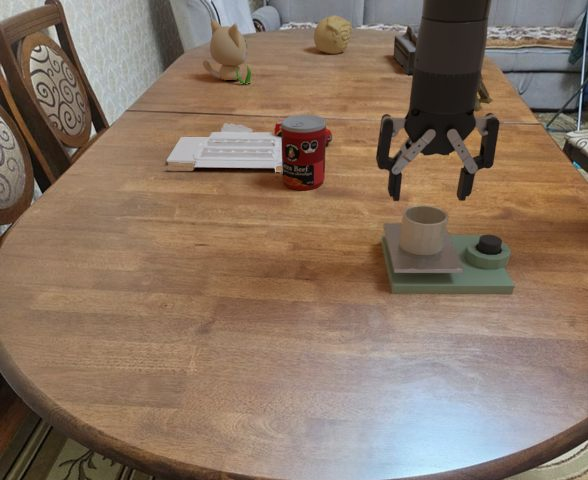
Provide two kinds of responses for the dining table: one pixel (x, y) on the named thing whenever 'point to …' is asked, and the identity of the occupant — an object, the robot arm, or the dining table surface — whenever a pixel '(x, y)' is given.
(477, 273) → the scale
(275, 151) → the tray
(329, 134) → the race car
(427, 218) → the cup
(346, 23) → the sculpture
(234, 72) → the kitten
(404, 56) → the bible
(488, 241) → the tare button
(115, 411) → the dining table surface
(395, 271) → the platform
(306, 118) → the canned food
